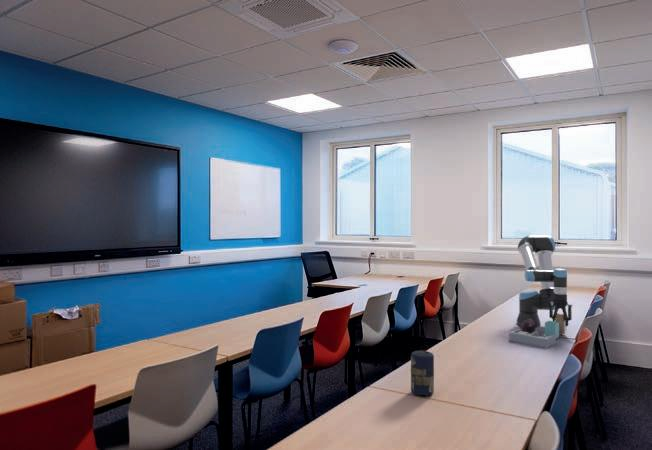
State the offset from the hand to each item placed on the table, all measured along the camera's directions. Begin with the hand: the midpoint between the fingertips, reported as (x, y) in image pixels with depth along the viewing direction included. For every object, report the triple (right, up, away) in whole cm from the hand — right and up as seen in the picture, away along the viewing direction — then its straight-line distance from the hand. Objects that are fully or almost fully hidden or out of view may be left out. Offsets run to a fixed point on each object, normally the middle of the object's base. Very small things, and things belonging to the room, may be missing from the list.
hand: (560, 330), depth 286 cm
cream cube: (-30, -3, -14) cm, 33 cm away
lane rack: (-25, -3, -16) cm, 30 cm away
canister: (-107, -5, -95) cm, 143 cm away
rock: (-18, -3, +5) cm, 19 cm away
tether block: (-5, -2, -5) cm, 7 cm away
